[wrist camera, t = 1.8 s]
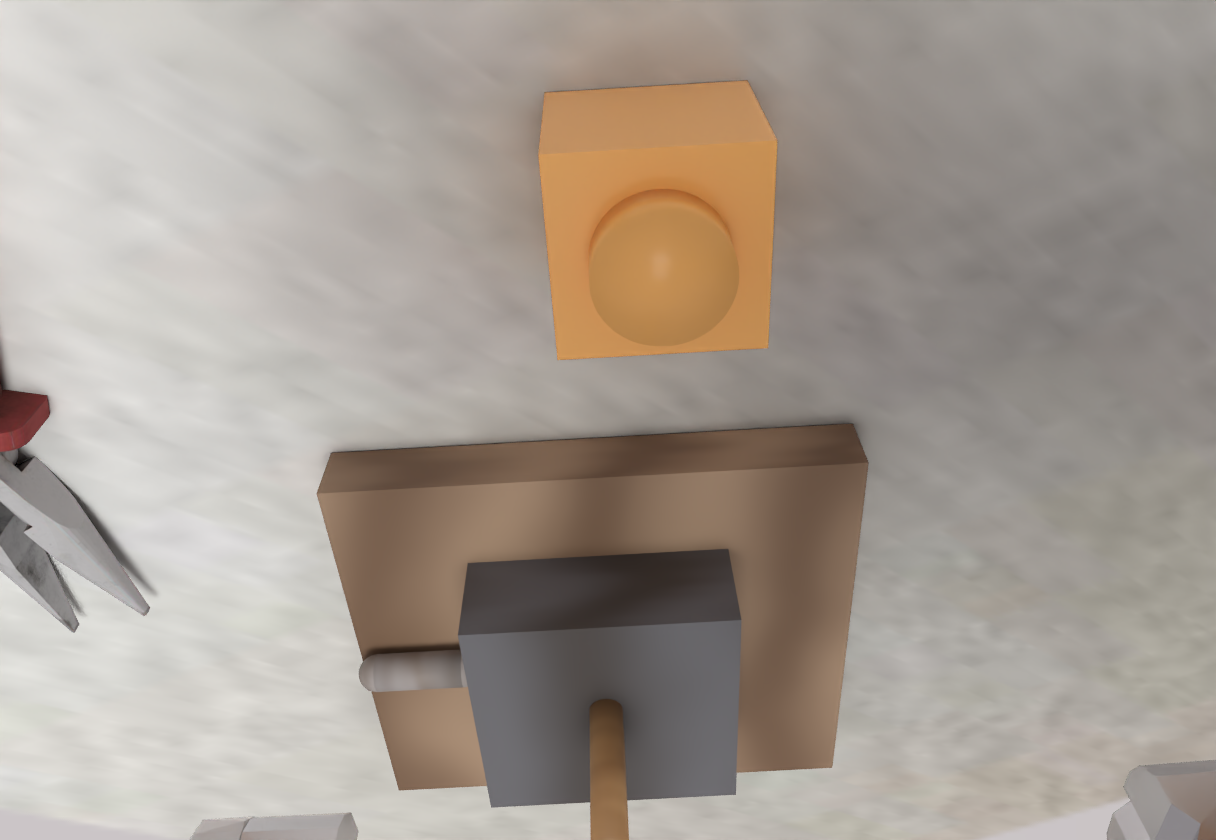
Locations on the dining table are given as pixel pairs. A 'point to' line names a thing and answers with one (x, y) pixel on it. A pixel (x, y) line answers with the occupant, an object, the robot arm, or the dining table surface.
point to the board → (599, 514)
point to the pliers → (48, 521)
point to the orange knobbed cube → (658, 218)
